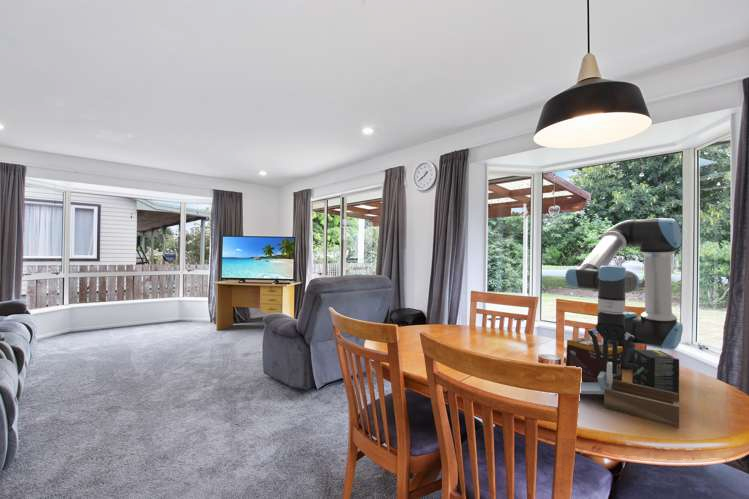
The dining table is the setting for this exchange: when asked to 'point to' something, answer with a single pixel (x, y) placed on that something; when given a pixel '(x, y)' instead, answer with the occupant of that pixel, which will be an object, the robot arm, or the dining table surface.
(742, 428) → the dining table surface
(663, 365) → the tampon box
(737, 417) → the dining table surface
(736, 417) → the dining table surface
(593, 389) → the cover plate
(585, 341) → the supplement box
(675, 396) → the grooved box
